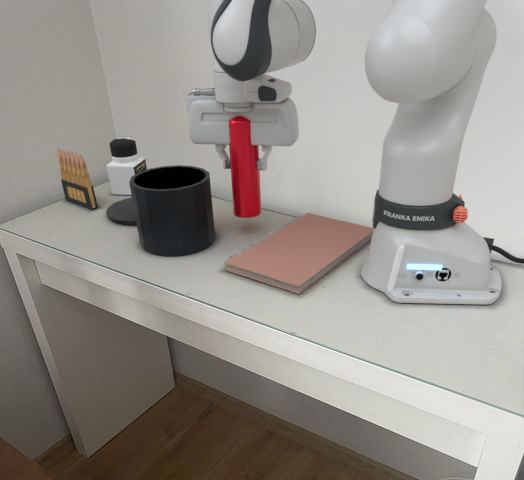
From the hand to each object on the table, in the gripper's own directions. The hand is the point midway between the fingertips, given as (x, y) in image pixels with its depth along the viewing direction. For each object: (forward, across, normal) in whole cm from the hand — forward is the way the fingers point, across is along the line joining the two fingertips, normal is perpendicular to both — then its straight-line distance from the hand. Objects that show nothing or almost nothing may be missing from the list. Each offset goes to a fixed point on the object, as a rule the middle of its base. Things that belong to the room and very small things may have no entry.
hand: (245, 168), depth 99 cm
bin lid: (+12, -27, +5) cm, 30 cm away
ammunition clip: (+12, -44, +7) cm, 46 cm away
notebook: (+13, +12, -7) cm, 19 cm away
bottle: (+9, 0, 0) cm, 9 cm away
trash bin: (+12, -13, -7) cm, 19 cm away
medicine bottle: (+12, -37, +18) cm, 43 cm away
